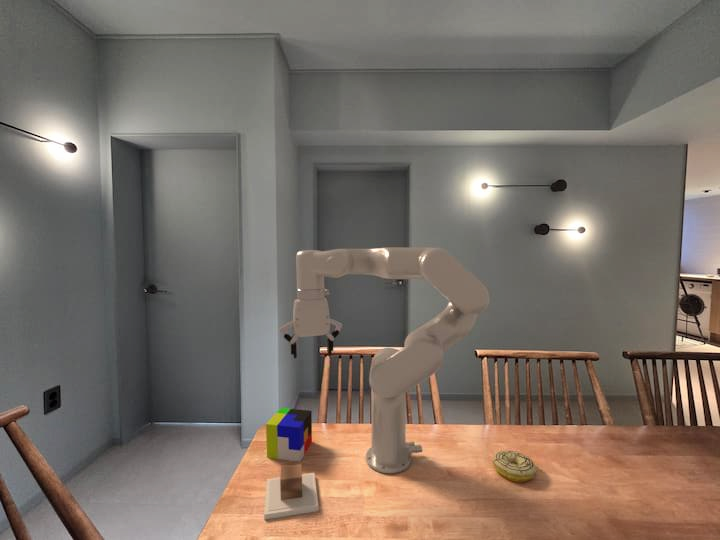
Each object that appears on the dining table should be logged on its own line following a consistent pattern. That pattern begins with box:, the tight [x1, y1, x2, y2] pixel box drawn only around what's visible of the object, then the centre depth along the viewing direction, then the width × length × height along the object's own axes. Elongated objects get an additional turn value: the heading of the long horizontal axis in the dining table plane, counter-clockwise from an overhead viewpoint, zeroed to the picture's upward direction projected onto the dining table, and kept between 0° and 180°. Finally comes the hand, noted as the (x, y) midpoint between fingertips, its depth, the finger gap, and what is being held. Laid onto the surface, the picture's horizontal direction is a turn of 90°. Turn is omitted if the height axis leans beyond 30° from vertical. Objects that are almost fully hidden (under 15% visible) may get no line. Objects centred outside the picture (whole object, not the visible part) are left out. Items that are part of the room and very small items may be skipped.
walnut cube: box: [279, 463, 303, 500], centre depth 86 cm, size 5×5×5 cm
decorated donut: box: [492, 450, 538, 484], centre depth 95 cm, size 10×11×4 cm
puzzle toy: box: [265, 407, 313, 462], centre depth 105 cm, size 10×10×10 cm
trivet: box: [263, 472, 320, 520], centre depth 86 cm, size 12×12×1 cm
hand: (312, 355), depth 100 cm, fingers open, 9 cm apart
